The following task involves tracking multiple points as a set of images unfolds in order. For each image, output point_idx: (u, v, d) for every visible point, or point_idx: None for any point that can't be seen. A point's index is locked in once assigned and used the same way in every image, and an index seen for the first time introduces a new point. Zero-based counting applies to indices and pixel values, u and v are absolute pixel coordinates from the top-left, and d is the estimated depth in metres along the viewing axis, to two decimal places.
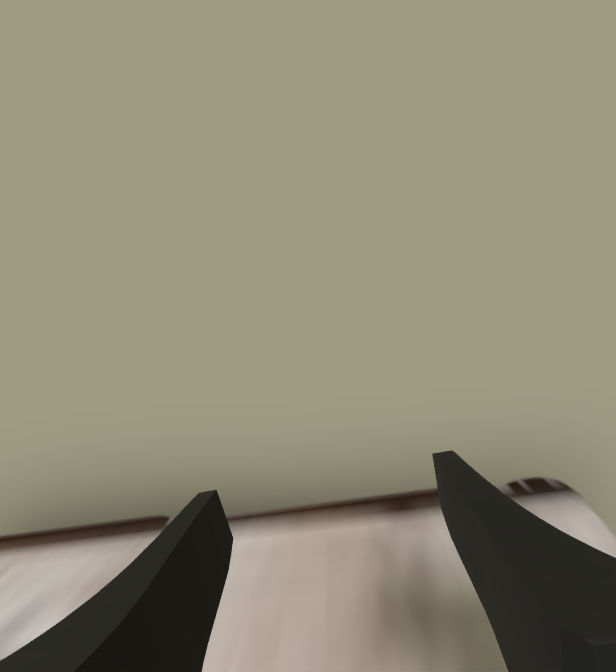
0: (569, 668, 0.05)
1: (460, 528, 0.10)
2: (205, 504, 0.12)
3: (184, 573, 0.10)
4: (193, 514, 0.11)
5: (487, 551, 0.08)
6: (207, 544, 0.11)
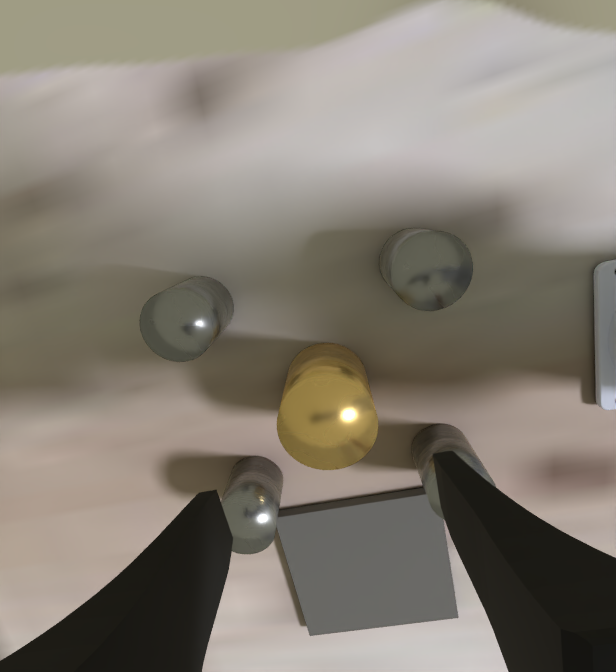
0: (568, 668, 0.05)
1: (460, 528, 0.10)
2: (205, 504, 0.12)
3: (184, 573, 0.10)
4: (193, 514, 0.11)
5: (487, 551, 0.08)
6: (207, 544, 0.11)
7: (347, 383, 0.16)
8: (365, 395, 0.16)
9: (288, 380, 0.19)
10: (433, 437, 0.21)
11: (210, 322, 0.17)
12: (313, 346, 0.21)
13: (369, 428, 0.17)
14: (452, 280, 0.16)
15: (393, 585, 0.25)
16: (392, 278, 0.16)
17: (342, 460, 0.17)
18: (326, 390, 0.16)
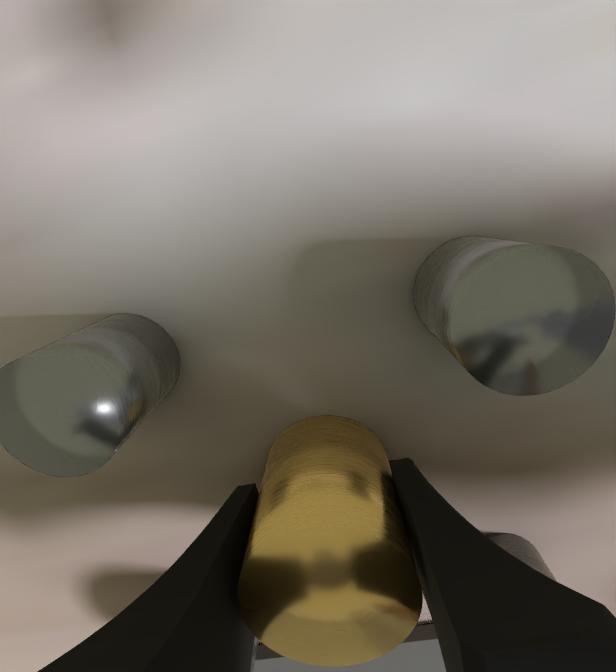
0: None
1: (410, 535, 0.11)
2: (247, 497, 0.12)
3: (233, 566, 0.10)
4: (237, 507, 0.11)
5: (425, 560, 0.09)
6: None
7: (366, 529, 0.09)
8: (400, 551, 0.09)
9: (263, 493, 0.11)
10: None
11: (113, 413, 0.09)
12: (306, 422, 0.13)
13: (406, 605, 0.09)
14: (572, 341, 0.08)
15: None
16: (454, 335, 0.08)
17: (355, 652, 0.10)
18: (326, 543, 0.09)
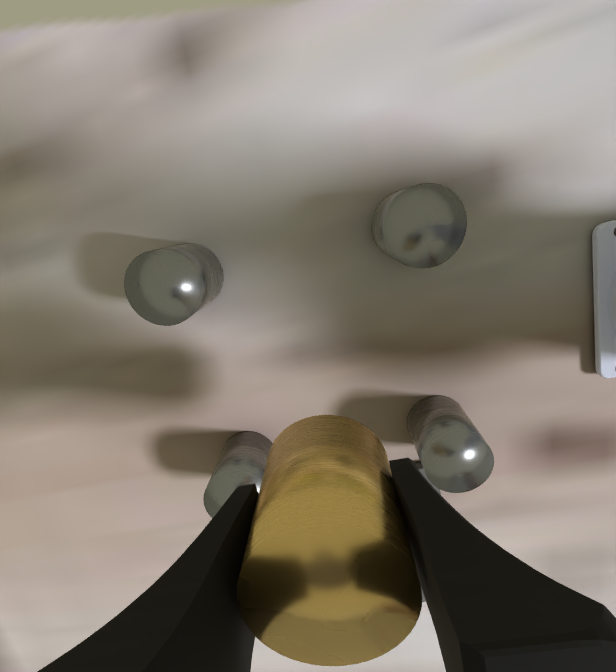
0: None
1: (410, 535, 0.11)
2: (247, 497, 0.12)
3: (233, 566, 0.10)
4: (237, 507, 0.11)
5: (425, 560, 0.09)
6: None
7: (366, 528, 0.09)
8: (400, 550, 0.09)
9: (262, 493, 0.11)
10: (429, 408, 0.21)
11: (196, 284, 0.16)
12: (306, 421, 0.13)
13: (405, 604, 0.09)
14: (445, 235, 0.15)
15: None
16: (383, 234, 0.15)
17: (354, 652, 0.10)
18: (326, 542, 0.09)
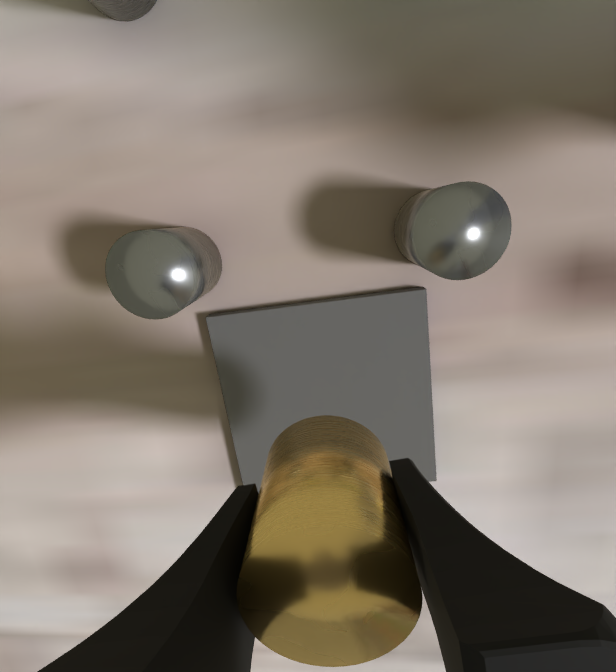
0: None
1: (410, 535, 0.11)
2: (247, 497, 0.12)
3: (233, 566, 0.10)
4: (237, 507, 0.11)
5: (425, 560, 0.09)
6: None
7: (366, 529, 0.09)
8: (400, 551, 0.09)
9: (262, 493, 0.11)
10: (425, 191, 0.15)
11: None
12: (306, 422, 0.13)
13: (405, 605, 0.09)
14: None
15: None
16: None
17: (354, 653, 0.10)
18: (326, 543, 0.09)
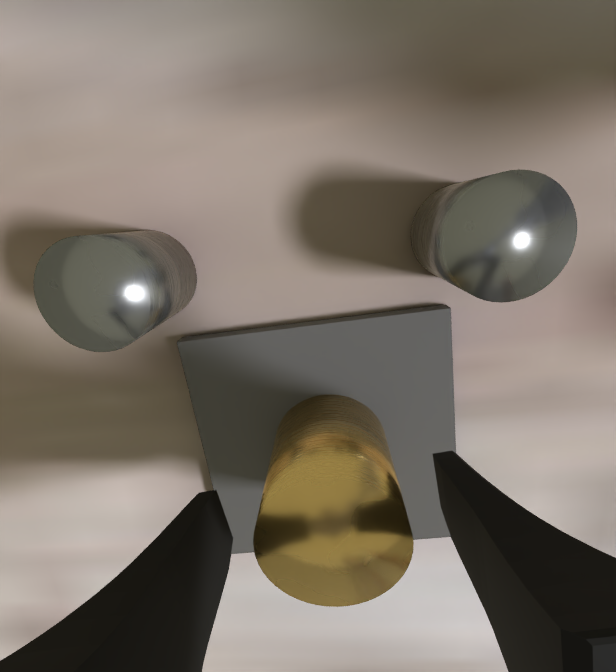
0: (569, 668, 0.05)
1: (460, 528, 0.10)
2: (205, 504, 0.12)
3: (184, 573, 0.10)
4: (193, 514, 0.11)
5: (487, 551, 0.08)
6: (207, 544, 0.11)
7: (365, 481, 0.10)
8: (394, 501, 0.10)
9: (274, 459, 0.13)
10: (453, 185, 0.12)
11: None
12: (311, 400, 0.15)
13: (399, 549, 0.11)
14: None
15: None
16: None
17: (355, 593, 0.11)
18: (331, 493, 0.10)
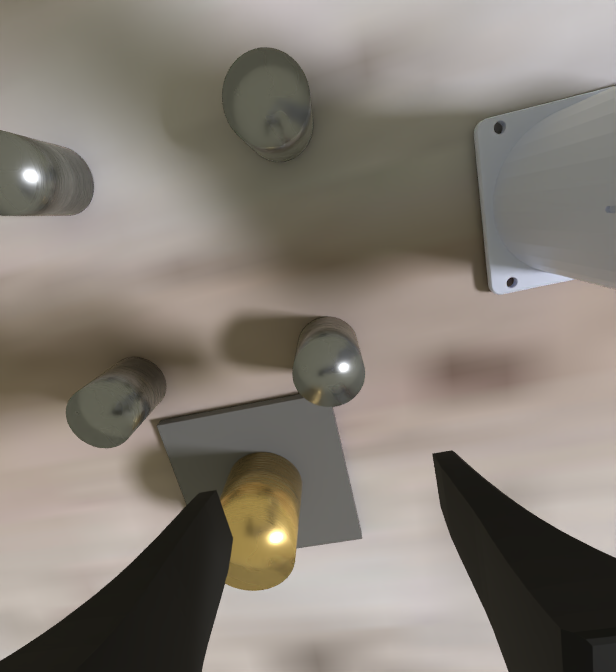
0: (569, 668, 0.05)
1: (460, 528, 0.10)
2: (205, 504, 0.12)
3: (184, 573, 0.10)
4: (193, 514, 0.11)
5: (487, 551, 0.08)
6: (207, 544, 0.11)
7: (261, 518, 0.18)
8: (279, 528, 0.18)
9: None
10: (312, 326, 0.20)
11: (31, 167, 0.15)
12: (247, 457, 0.22)
13: (287, 555, 0.18)
14: (289, 109, 0.14)
15: None
16: (224, 109, 0.14)
17: (266, 582, 0.19)
18: (242, 526, 0.18)
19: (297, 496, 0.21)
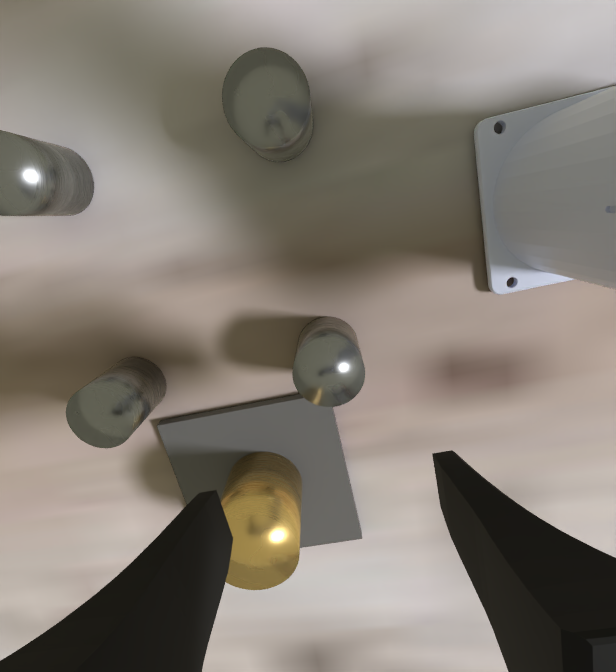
0: (569, 668, 0.05)
1: (460, 528, 0.10)
2: (205, 504, 0.12)
3: (184, 573, 0.10)
4: (193, 514, 0.11)
5: (487, 551, 0.08)
6: (207, 544, 0.11)
7: (267, 515, 0.18)
8: (284, 525, 0.18)
9: (221, 500, 0.20)
10: (313, 326, 0.20)
11: (31, 167, 0.15)
12: (249, 456, 0.22)
13: (291, 553, 0.18)
14: (289, 109, 0.14)
15: None
16: (224, 109, 0.14)
17: (269, 581, 0.19)
18: (248, 523, 0.18)
19: (299, 495, 0.21)
